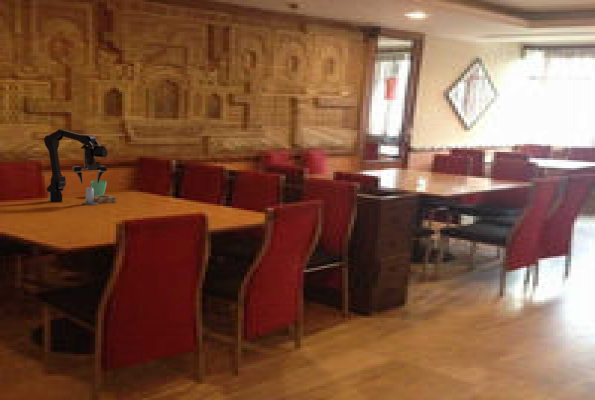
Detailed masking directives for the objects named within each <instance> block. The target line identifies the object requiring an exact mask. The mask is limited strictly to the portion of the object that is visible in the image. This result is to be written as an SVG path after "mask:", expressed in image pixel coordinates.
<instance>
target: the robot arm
mask: <svg viewBox="0 0 595 400" xmlns="http://www.w3.org/2000/svg"><path fill="white" fill-rule="evenodd" d="M63 138H67V139H71V140H75V141H78V142H79V143H80V144H82V146H81V147H80V149H82V150H84V151H83V152H84V153H83V155H84V156H83V157H84V158H83V160H84V165H83V167H82V166H80V165H73V166H72V168H71V171H72V172H74V173H76V174H77V177H78V180H79V181H80V183H81V184H82V185H83V171H96V181H97V183H99V181H101V177H102V175H103V173H105V172H107V171H108V167H107V165H106V166H105V165H101V162H100V161H96V158H106V157H107V156H108V153H109V152H108V149H107V147H106V145H100V143H99V142H98V140H97V138H96V136H95V135H94V134H81V133H78V132H74V131H70V130H66V129H65V128H60V129H59V128H58V130H56V131H54V132H53V133H50V134H49V135H45V136H44V138H43V141H44V146H45V147H46V149H47V150H48V155H49V161H50V162H49V163H50V168H51V178H50V184H49V185H48V187H46V192H48V193H49V194H48V195H49V196H48V198H49V200H48V202H50V203H62V202H63V193H62V192H63V191H64V189H65V187H66V184H67V181H66V176H65V175H62V173H61V172H62V171H61V166H60V164H61V163H60V157H59V152H58V149H59V147H60V141H62V140H63Z"/></svg>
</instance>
